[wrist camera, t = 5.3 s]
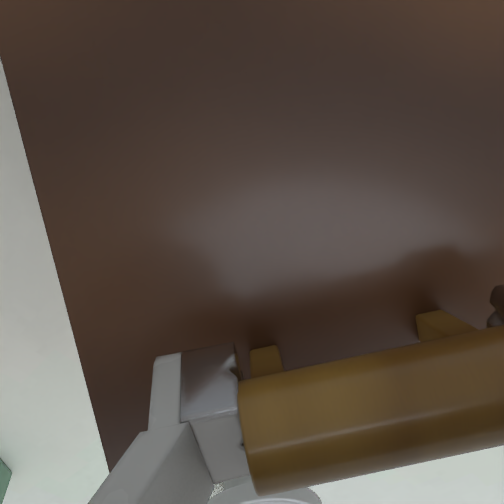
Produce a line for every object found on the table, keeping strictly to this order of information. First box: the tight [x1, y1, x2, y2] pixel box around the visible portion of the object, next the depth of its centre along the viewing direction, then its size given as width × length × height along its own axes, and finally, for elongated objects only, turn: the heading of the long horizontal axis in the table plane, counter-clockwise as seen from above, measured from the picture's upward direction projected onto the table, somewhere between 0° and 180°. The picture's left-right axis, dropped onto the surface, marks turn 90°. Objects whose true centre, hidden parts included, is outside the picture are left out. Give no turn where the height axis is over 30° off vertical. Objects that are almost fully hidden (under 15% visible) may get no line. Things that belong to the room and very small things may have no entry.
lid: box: [0, 0, 504, 497], centre depth 9 cm, size 15×13×5 cm
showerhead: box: [207, 475, 322, 504], centre depth 35 cm, size 9×7×10 cm
